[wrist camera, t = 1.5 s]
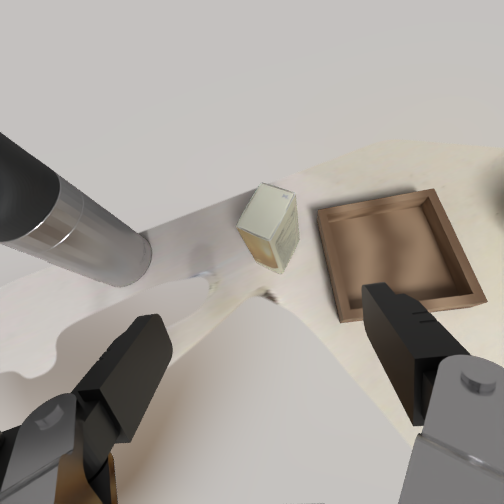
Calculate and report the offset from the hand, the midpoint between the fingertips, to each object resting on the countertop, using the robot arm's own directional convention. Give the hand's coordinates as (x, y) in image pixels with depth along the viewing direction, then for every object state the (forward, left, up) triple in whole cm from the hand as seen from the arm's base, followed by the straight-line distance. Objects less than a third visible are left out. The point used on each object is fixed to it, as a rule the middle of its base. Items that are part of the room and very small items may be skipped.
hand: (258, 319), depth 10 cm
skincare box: (0, +13, -25) cm, 28 cm away
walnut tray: (+14, +10, -25) cm, 30 cm away
